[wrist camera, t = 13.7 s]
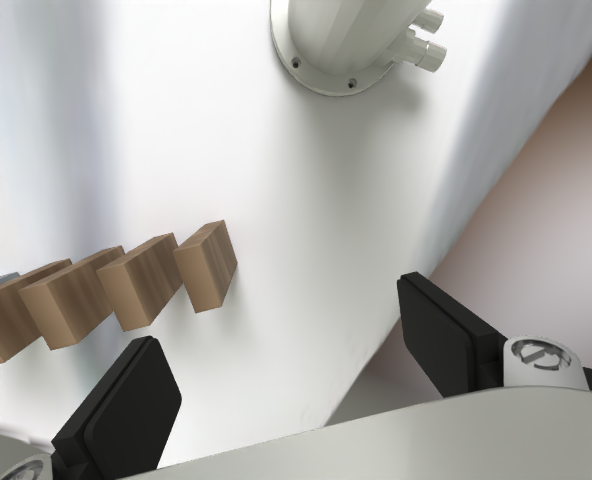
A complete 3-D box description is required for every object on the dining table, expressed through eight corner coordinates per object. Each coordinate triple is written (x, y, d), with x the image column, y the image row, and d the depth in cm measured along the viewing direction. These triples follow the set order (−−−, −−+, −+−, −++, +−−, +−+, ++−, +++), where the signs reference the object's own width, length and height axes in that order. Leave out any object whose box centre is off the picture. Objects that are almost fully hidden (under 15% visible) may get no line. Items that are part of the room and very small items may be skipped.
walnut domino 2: (121, 245, 29) (45, 283, 19) (139, 287, 30) (77, 343, 21) (102, 250, 29) (17, 290, 19) (121, 292, 30) (50, 350, 20)
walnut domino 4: (223, 219, 29) (199, 244, 19) (237, 263, 30) (221, 306, 21) (205, 224, 29) (172, 251, 19) (219, 267, 30) (195, 313, 21)
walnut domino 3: (172, 232, 29) (123, 264, 19) (188, 275, 30) (149, 325, 21) (154, 237, 29) (95, 271, 19) (170, 280, 30) (123, 331, 21)
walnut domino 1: (69, 258, 29) (-33, 303, 19) (90, 300, 30) (4, 362, 20) (50, 263, 29) (-62, 310, 19) (71, 305, 30) (-23, 369, 20)
